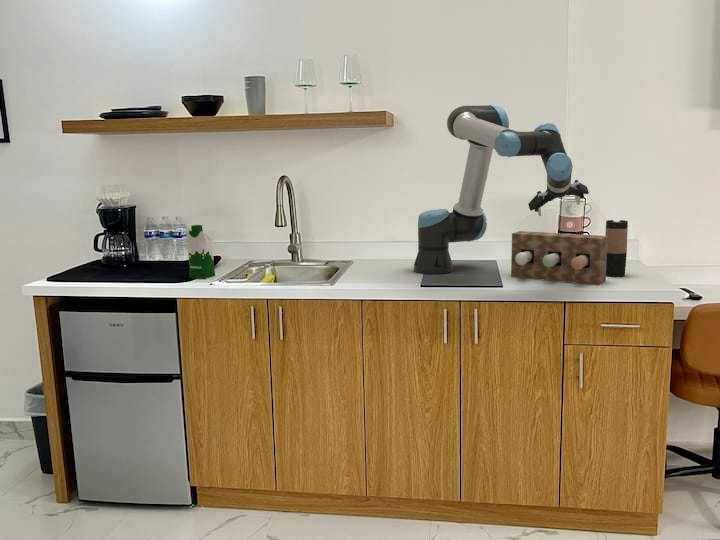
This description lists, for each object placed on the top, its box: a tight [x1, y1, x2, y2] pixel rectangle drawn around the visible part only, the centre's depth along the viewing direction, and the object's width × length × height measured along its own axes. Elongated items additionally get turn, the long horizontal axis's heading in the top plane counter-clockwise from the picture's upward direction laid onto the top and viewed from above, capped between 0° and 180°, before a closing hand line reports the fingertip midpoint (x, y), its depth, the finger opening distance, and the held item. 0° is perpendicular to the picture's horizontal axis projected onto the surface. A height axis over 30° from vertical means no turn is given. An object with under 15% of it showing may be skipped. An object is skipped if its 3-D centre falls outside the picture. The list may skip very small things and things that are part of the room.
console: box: [510, 230, 608, 286], centre depth 264 cm, size 32×8×16 cm, turn 57°
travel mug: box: [604, 219, 629, 278], centre depth 269 cm, size 8×8×20 cm
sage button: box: [543, 253, 561, 267], centre depth 259 cm, size 4×7×4 cm, turn 147°
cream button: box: [515, 251, 534, 265], centre depth 264 cm, size 4×7×4 cm, turn 147°
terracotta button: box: [571, 255, 589, 270], centre depth 254 cm, size 4×7×4 cm, turn 147°
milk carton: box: [185, 224, 216, 280], centre depth 281 cm, size 9×9×20 cm
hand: (558, 207), depth 259 cm, fingers open, 13 cm apart
